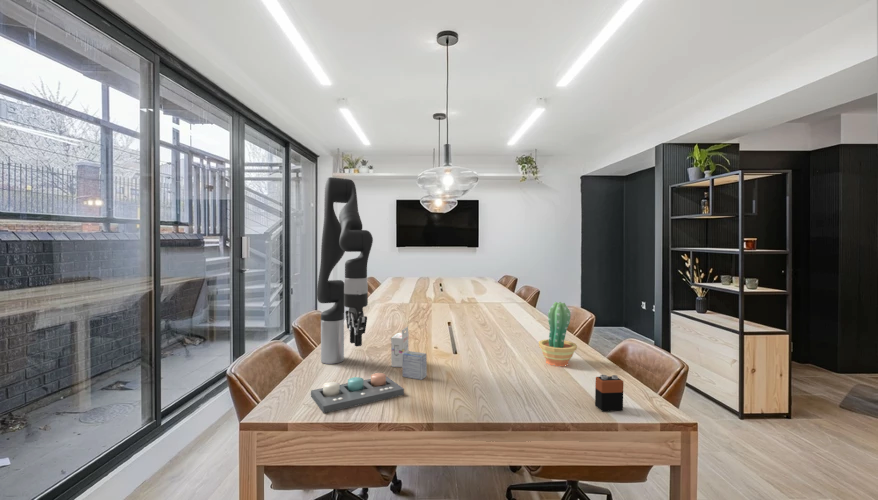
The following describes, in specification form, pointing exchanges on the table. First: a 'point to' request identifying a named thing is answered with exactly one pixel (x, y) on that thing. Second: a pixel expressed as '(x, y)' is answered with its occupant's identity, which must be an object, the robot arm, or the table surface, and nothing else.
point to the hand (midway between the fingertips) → (355, 344)
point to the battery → (609, 393)
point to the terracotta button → (378, 379)
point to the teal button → (355, 384)
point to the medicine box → (414, 365)
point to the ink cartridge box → (399, 347)
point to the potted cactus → (558, 336)
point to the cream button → (331, 389)
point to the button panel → (356, 395)
